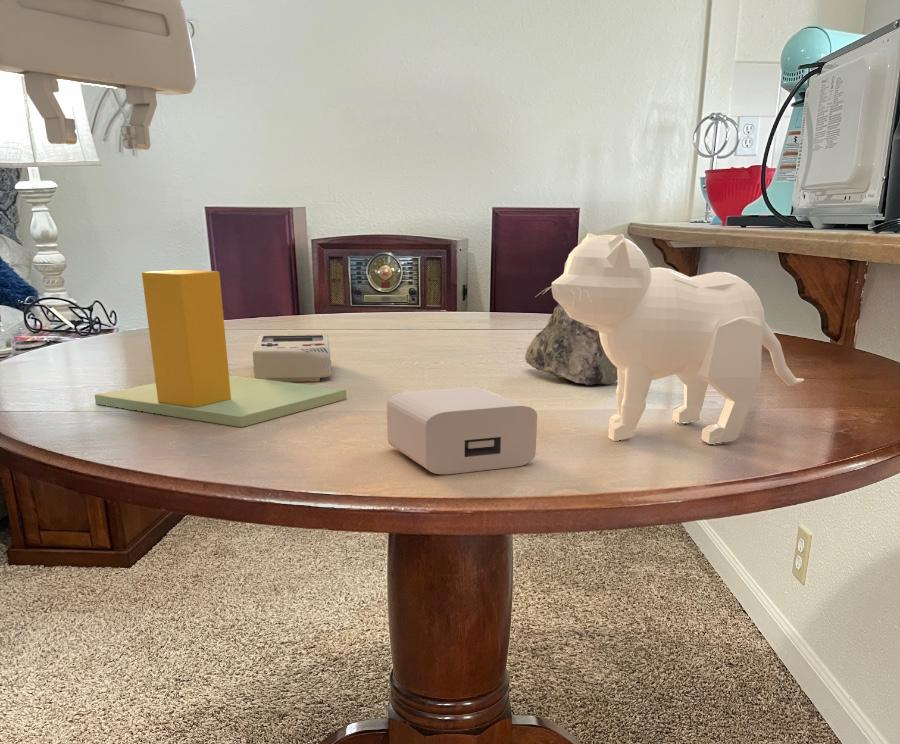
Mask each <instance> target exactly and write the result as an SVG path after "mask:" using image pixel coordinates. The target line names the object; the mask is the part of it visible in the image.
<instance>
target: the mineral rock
mask: <svg viewBox="0 0 900 744" xmlns="http://www.w3.org/2000/svg"><path fill="white" fill-rule="evenodd" d="M524 359H525V362H526V364H528V365H530V366H531V367H532V368H534V369H535V370H537V371H542V372H545V373H548V374H550V375H551V376H554V377H557V378H560V377H562V378H565V379H566V380H569V381H571V382H573V383H575V384H580V385H586V386H591V385H611V384H613V383H615V382H616V381H617V382H618V374H617V367H616V366H615V365H613V364H612V363H611V361H610V360H609V358H608V357H607V355H606V354H605V352H604V349H603V347H602V344H601V341H600V335H599V332H598V331H596V330H594V329H591V328H589V327H587V326H584V325H583V323H581V322H578V321H576V320H574V319H572V318H570V317H569V316H568V314H567V313H566V311H565V310H564V308H563V307H562V306H561V305H560V304H559V303H558V304H557V305H556V306H555V307H554V309H553V313H552V314H551V315H550V317H549V319H548V321H547V324H546V325H545V327H544V328H543V329H542V330H540V331H539V332H537V333H536V335H535V336H534V337H533V339H532V341H531V342H530V344H529V345H528V347H526V351H525V354H524Z"/></svg>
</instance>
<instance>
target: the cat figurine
mask: <svg viewBox="0 0 900 744" xmlns="http://www.w3.org/2000/svg"><path fill="white" fill-rule="evenodd" d="M550 289H551V293H552V294H551V295H552V298H553V299H554V300H555V302H556V303H557V304H558V305H559V304H560V305H561V306H562V307H563V308H564V310H565V311H566V313H567V314H568V316H569V317H570V318H572V319H574V320H576V321H578V322H581V323H583V325H584V326H587V327H589V328H591V329H594V330H596V331H598V332H599V335H600V341H601V344H602V347H603V349H604V352H605V354H606V355H607V357H608V358H609V360H610V361H611V363H612V364H613V365H615V366H616V367H617V374H618V380H617V386H616V390H615V394H616V395H615V396H616V405H617V407H616V408H617V413H615V414H612V415H611V416H609V421H608V434H607V438H608V439H610V440H611V441H613V442H619V440H621V441H624V440H626V439H630V438H634V437H635V436H636V429H637V428H636V427H637V425H638V423H639V421H640V419H641V417H642V416H643V414H644V411H645V409H646V407H647V406H646V403H647V401H646V400H647V397H648V394H649V391H650V388H651V384H652V381H656V380H660V379H663V378H667V377H671V376H673V375H675V376H676V377H677V378H678V379H679V380H680V382H682V383H683V405H680V406H678V407H677V408H674V409H673V410H672V417H671V421H672V420H674V421H676V422H678V423H682V422H691V423H693V422H692V421H694V422H697V421H699V420H700V417H701V416H700V415H701V413H702V410H703V407H704V402H705V397H706V394H707V390H708V386H709V385H710V386H711V387H712V388H713V389H714V390H716V391H717V392H718V393H719V394H720V395H721V396H722V397H724V398H725V399H726V400H725V403H724V405H723V408H722V410H721V413H720V415H719V418H718V420H717V423H716V424H709V425H707V426H705V427H702V431H701V437H700V438H701V439H702V440H704V441H706V442H708V443H717V442H725V443H729V442H735V441H736V439H738V438H739V436H740V434H741V432H742V429H743V427H744V424H745V422H746V419H747V417H748V414H749V412H750V409H751V407H752V404H753V401H754V398H755V396H756V392H757V389H758V386H759V383H760V380H761V378H762V354H763V353H762V349H763V347H764V348H765V349H766V350H768V352H769V354H770V357H771V361H772V366H773V368H774V372H775V374H776V376H778V377H779V379H781V380H782V381H783V382H784V383H785V384H786V385H787V386H788V387H790V386H791V387H792V386H796V385H799V384H801V383H803V382H804V381H805V379H804V378H798V377H796V376H795V374H793V372H792V371H791V370H790V368H789V367H788V365H787V363H786V358H785V355H784V351H783V348H782V345H781V342H780V341H779V339H778V338H777V336H776V335H775V333H774V332H773V331H772V329H771V328H770V326H769V325H768V323H767V322H766V316H765V309H764V306H763V303H762V300H761V298H760V296H759V295H758V293H757V292H756V290H755V289H754V288H753V286H752V285H750V283H748V282H747V281H746V280H744V279H743V278H741V277H739V276H738V275H735V274H733V273H730V272H728V271H727V272H726V271H713V272H707V273H704V274H698V275H694V276H688V275H686V274H684V273H682V272H679V271H677V270H674V269H672V268H666V267H651V266H650V264H649V261H648V259H647V257H646V255H645V254H644V252H643V251H642V249H640V247H638V246H637V245H636V244H635V243H634V242H633V241H631V240H630V239H627V238H626V237H625V235H624V233H620V234H619V233H618V234H599V235H596V234H594V233H590V232H587V234H586V237H584V238H583V239H582V240H581V241H580V243H579V244H578V245H577V246H575V247H574V248H573V249H572V250H571V251H570V253H568V257H567V259H566V261H565V262H564V269H563V273H562V274H561V275H560V276H559V277H558V278H556V279H555V280H554V281H552V282H551V286H549V287H546V288H545V289H544V290H542V291H541V292H540V293H538V294H537V295H535V298H536V297H537V296H539V295H540V294H542V295H544V294H545V293H546V291H549V290H550ZM701 439H700V440H701ZM728 441H729V442H728Z"/></svg>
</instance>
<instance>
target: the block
mask: <svg viewBox="0 0 900 744" xmlns="http://www.w3.org/2000/svg"><path fill="white" fill-rule="evenodd" d="M141 278H142V286H143V287H142V288H143V294H144V301H145V310H146V317H147V327H148V334H149V342H150V349H151V357H152V364H153V365H152V366H153V372H154V381H155V383H156V389H157V397H158V402H160V403H167V404H174V405H181V406H187V407H194V408H195V407H199V406H204V405H208V404H212V403H217V402H221V401H225V400H229V399H231V392H230V381H229V375H230V372H229V371H230V370H229V362H228V351H227V340H226V339H227V338H226V331H225V329H226V328H225V320H224V319H225V318H224V308H223V297H222V287H221V286H222V285H221V276H220V271H218V270H217V271H216V270H198V269H196V270H195V269H171V270H170V269H168V270H157V271H155V270H154V271H141Z"/></svg>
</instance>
